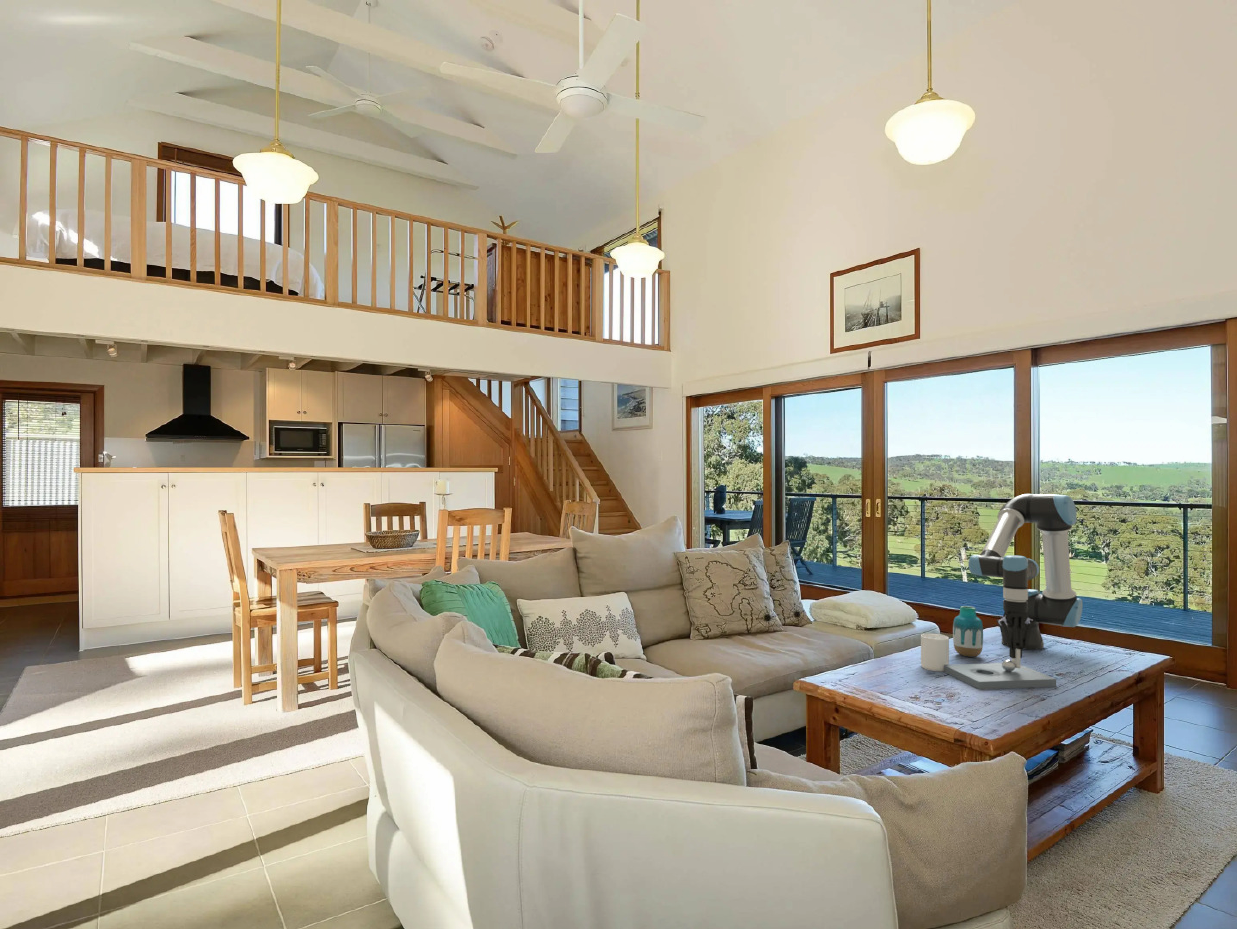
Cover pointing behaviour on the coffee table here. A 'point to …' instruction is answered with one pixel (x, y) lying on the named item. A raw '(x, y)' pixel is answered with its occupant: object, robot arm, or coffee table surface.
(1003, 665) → the ball
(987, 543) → the robot arm
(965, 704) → the coffee table surface
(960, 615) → the vase
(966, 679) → the grey plate with hole
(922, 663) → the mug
